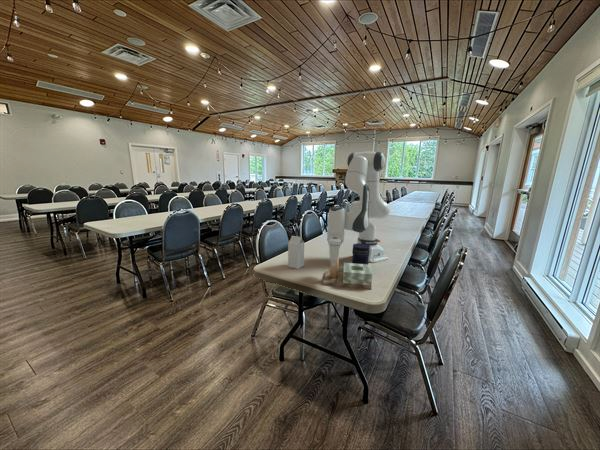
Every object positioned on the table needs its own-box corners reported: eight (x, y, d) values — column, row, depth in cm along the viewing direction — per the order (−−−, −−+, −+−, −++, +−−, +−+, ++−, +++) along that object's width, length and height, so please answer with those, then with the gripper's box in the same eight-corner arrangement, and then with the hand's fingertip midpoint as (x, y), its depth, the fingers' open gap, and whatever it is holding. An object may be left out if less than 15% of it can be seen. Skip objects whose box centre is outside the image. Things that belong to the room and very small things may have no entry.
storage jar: (348, 267, 152) (349, 243, 149) (362, 266, 155) (364, 242, 152) (356, 273, 143) (358, 248, 140) (371, 272, 146) (373, 247, 143)
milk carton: (297, 269, 148) (298, 238, 144) (288, 266, 152) (288, 236, 148) (303, 265, 154) (304, 236, 150) (294, 263, 158) (294, 234, 154)
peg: (335, 274, 137) (336, 250, 134) (339, 277, 133) (340, 252, 130) (328, 275, 135) (329, 251, 132) (332, 278, 131) (333, 253, 128)
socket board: (368, 276, 139) (369, 264, 137) (371, 289, 123) (372, 275, 122) (325, 273, 143) (326, 260, 142) (323, 284, 128) (323, 270, 126)
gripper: (330, 232, 140) (329, 256, 143) (327, 241, 120) (326, 268, 123) (342, 233, 139) (340, 257, 142) (341, 242, 119) (339, 270, 122)
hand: (334, 262), depth 132 cm, fingers open, 8 cm apart
